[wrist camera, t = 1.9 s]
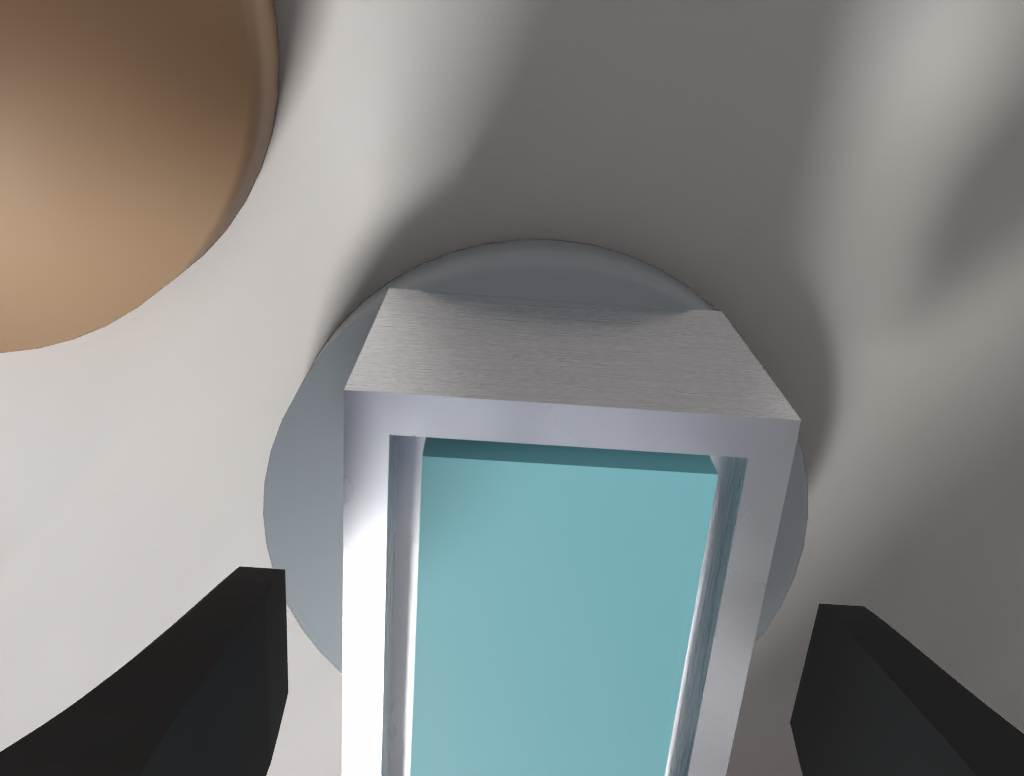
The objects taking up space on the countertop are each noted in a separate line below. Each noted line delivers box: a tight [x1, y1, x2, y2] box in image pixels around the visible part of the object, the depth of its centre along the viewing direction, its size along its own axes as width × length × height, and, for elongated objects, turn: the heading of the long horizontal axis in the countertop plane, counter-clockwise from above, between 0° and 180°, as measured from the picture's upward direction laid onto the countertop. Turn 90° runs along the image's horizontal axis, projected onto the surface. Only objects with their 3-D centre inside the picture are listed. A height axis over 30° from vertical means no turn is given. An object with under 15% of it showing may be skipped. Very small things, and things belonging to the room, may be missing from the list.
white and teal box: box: [342, 288, 801, 776], centre depth 13 cm, size 8×5×4 cm, turn 176°
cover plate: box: [410, 437, 718, 776], centre depth 12 cm, size 6×3×1 cm, turn 176°
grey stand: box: [263, 240, 808, 674], centre depth 16 cm, size 9×9×2 cm
